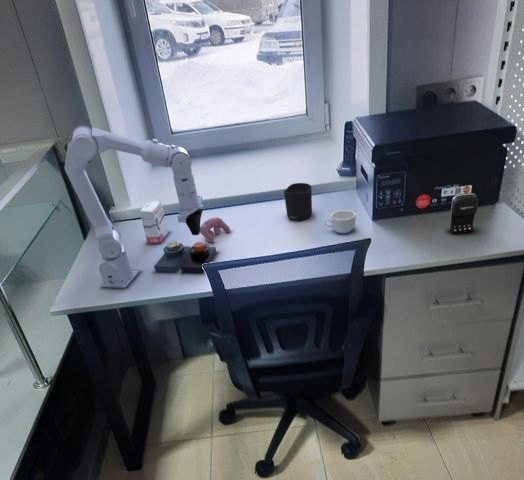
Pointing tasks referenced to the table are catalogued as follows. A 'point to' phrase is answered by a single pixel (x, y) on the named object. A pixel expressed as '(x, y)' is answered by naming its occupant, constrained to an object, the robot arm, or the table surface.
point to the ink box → (154, 222)
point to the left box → (172, 259)
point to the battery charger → (463, 213)
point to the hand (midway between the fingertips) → (196, 234)
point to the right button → (199, 246)
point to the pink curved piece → (215, 224)
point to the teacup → (342, 221)
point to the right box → (198, 260)
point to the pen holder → (298, 201)
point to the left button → (173, 246)
